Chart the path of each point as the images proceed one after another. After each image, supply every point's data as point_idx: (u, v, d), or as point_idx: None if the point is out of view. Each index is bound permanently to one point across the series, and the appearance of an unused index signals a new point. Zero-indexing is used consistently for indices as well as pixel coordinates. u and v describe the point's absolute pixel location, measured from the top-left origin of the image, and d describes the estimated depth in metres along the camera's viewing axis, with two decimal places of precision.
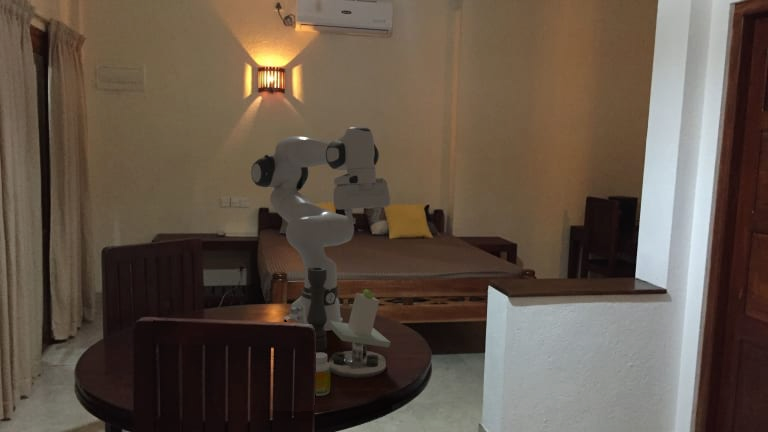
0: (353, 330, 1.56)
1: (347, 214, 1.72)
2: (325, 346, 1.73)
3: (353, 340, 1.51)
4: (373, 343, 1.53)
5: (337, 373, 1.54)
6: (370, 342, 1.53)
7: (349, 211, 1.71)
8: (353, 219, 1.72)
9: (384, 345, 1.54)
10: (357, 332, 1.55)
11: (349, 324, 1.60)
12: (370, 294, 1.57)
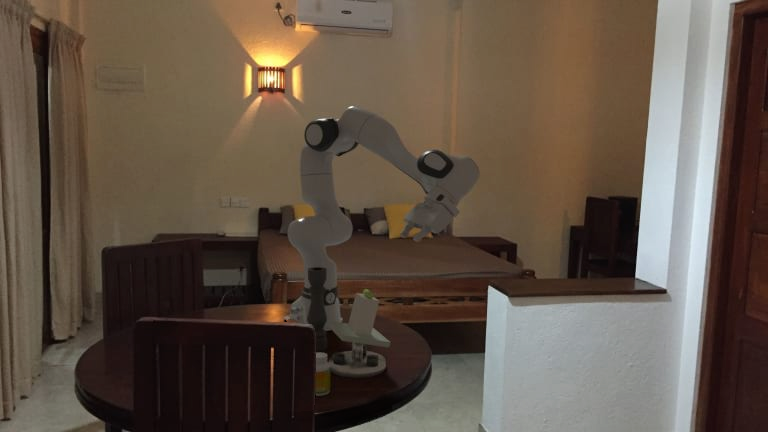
0: (353, 330, 1.56)
1: (423, 232, 1.56)
2: (325, 346, 1.73)
3: (353, 340, 1.51)
4: (373, 343, 1.53)
5: (337, 373, 1.54)
6: (370, 342, 1.53)
7: None
8: None
9: (384, 345, 1.54)
10: (357, 332, 1.55)
11: (349, 324, 1.60)
12: (370, 294, 1.57)
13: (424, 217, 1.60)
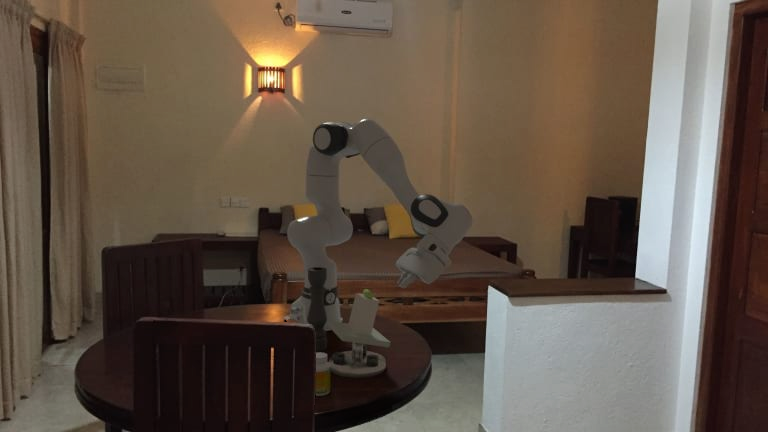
0: (353, 330, 1.56)
1: (410, 279, 1.60)
2: (325, 346, 1.73)
3: (353, 340, 1.51)
4: (373, 343, 1.53)
5: (337, 373, 1.54)
6: (370, 342, 1.53)
7: None
8: None
9: (384, 345, 1.54)
10: (357, 332, 1.55)
11: (349, 324, 1.60)
12: (370, 294, 1.57)
13: (416, 265, 1.60)
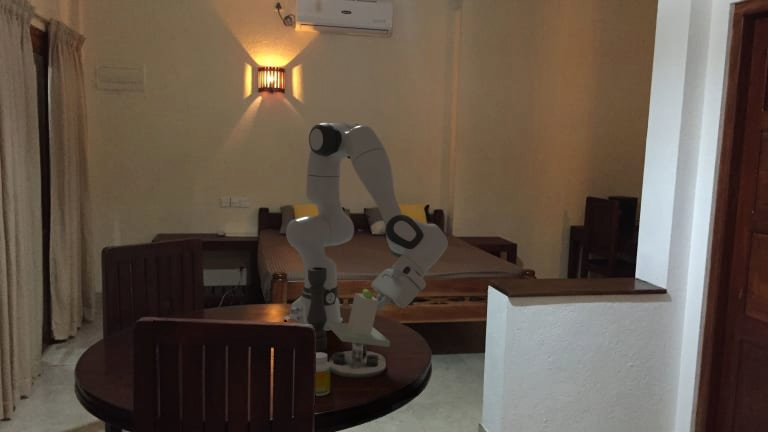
0: (353, 330, 1.56)
1: (384, 302, 1.58)
2: (325, 346, 1.73)
3: (353, 340, 1.51)
4: (373, 343, 1.53)
5: (337, 373, 1.54)
6: (370, 342, 1.53)
7: None
8: None
9: (384, 345, 1.54)
10: (357, 332, 1.55)
11: (349, 324, 1.60)
12: (369, 294, 1.57)
13: (390, 288, 1.58)
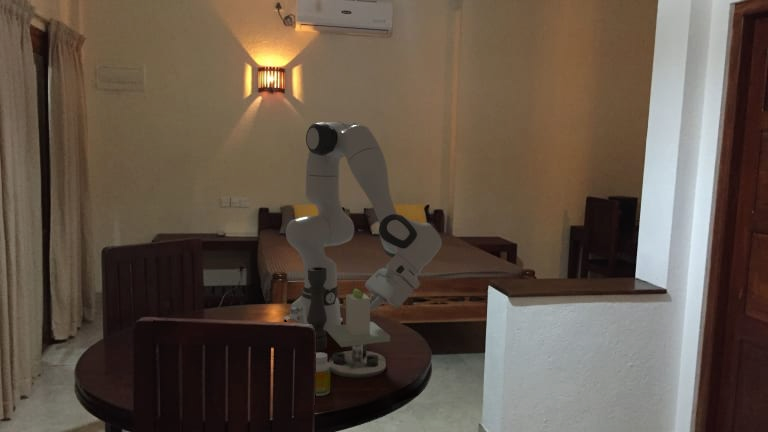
0: (351, 332, 1.56)
1: (378, 302, 1.57)
2: (325, 346, 1.73)
3: (352, 344, 1.51)
4: (373, 341, 1.53)
5: (337, 373, 1.54)
6: (370, 341, 1.53)
7: None
8: None
9: (384, 340, 1.54)
10: (355, 333, 1.55)
11: (347, 326, 1.59)
12: (359, 294, 1.55)
13: (384, 288, 1.57)
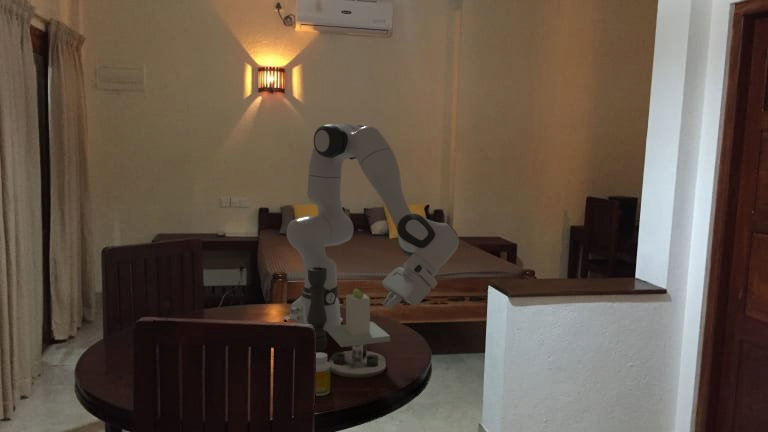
0: (351, 332, 1.56)
1: (395, 300, 1.59)
2: (325, 346, 1.73)
3: (352, 344, 1.51)
4: (373, 341, 1.53)
5: (337, 373, 1.54)
6: (370, 341, 1.53)
7: None
8: None
9: (384, 340, 1.54)
10: (355, 333, 1.55)
11: (347, 326, 1.59)
12: (359, 294, 1.55)
13: (402, 286, 1.59)
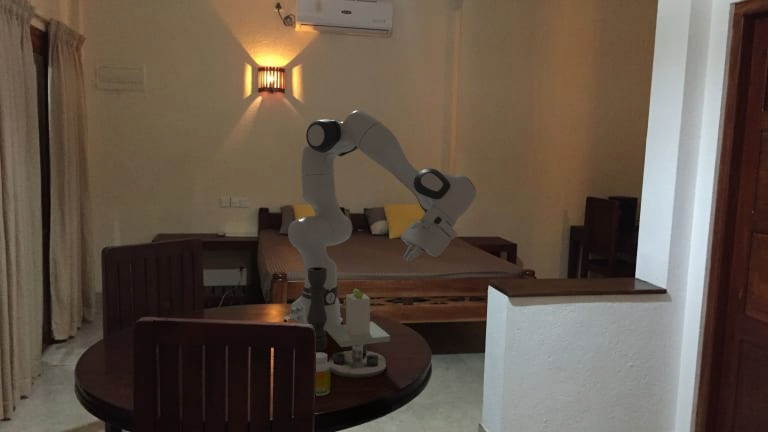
0: (351, 332, 1.56)
1: (416, 253, 1.62)
2: (325, 346, 1.73)
3: (352, 344, 1.51)
4: (373, 341, 1.53)
5: (337, 373, 1.54)
6: (370, 341, 1.53)
7: None
8: None
9: (384, 340, 1.54)
10: (355, 333, 1.55)
11: (347, 326, 1.59)
12: (359, 294, 1.55)
13: (422, 239, 1.61)
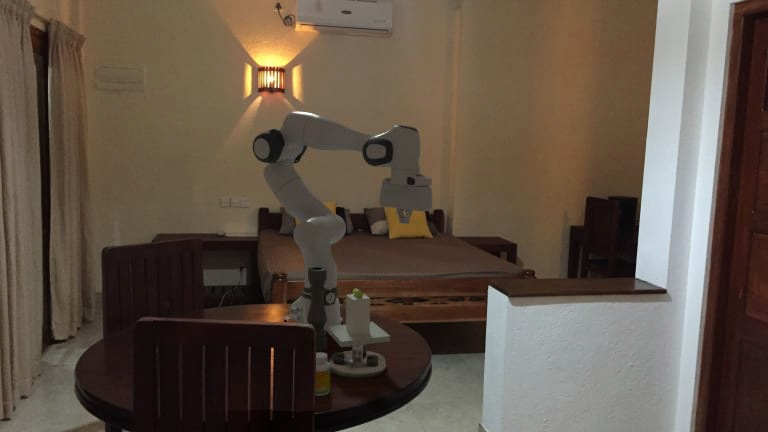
0: (351, 332, 1.56)
1: (409, 214, 1.72)
2: (325, 346, 1.73)
3: (352, 344, 1.51)
4: (373, 341, 1.53)
5: (337, 373, 1.54)
6: (370, 341, 1.53)
7: None
8: None
9: (384, 340, 1.54)
10: (355, 333, 1.55)
11: (347, 326, 1.59)
12: (359, 294, 1.55)
13: (406, 201, 1.70)
